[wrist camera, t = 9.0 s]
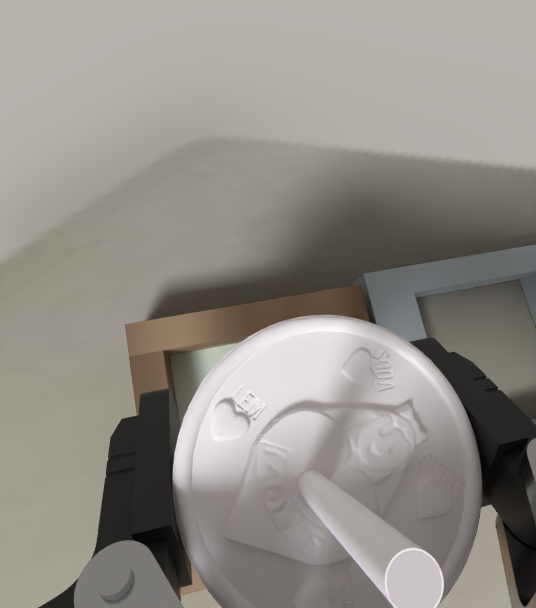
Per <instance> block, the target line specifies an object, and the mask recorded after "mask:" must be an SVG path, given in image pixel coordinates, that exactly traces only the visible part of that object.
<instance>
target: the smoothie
mask: <svg viewBox="0 0 536 608" xmlns="http://www.w3.org/2000/svg"><path fill="white" fill-rule="evenodd" d="M173 498H174V505H175V513H176V520H177V525H178V528H179V532H180V536H181V539H182V542H183V545H184V547H185V550H186V552H187V555H188V557H189V559H190V561H191V563H192V565H193V567H194V569H195V571H196V573H197V575H198V576H199V578H200V580H201V581H202V583H203V584H204V586H205V587H206V589H207V590H208V591H209V593H210V594H211V595H212V596H213V598H214V599H215V600H216V601H217V602H218V604H219V605H220V606H221V607H222V608H436V607H437V606H438V605H439V604H440V603H441V601H442V600H443V599H444V598H445V596H446V595H447V594H448V593H449V591H450V590H451V588H452V587H453V585H454V584H455V582H456V581H457V579H458V577H459V576H460V574H461V572H462V570H463V568H464V566H465V564H466V562H467V559H468V557H469V554H470V552H471V549H472V546H473V543H474V539H475V536H476V533H477V528H478V523H479V518H480V511H481V502H482V475H481V464H480V458H479V452H478V447H477V443H476V439H475V435H474V432H473V429H472V426H471V423H470V421H469V418H468V416H467V414H466V411H465V409H464V407H463V405H462V403H461V401H460V399H459V397H458V395H457V394H456V392H455V391H454V389H453V388H452V386H451V384H450V383H449V382H448V380H447V379H446V378H445V376H444V375H443V374H442V372H441V371H440V370H439V369H438V368H437V367H436V366H435V365H434V363H433V362H432V361H431V360H430V359H429V358H428V357H427V356H425V355H424V354H423V353H422V352H421V351H420V350H419V349H417V348H416V347H415V346H413V345H412V344H411V343H410V342H408V341H407V340H405V339H403V338H402V337H400V336H399V335H397V334H395V333H393V332H391V331H389V330H387V329H385V328H383V327H381V326H378V325H376V324H373V323H371V322H367V321H364V320H360V319H356V318H351V317H346V316H336V315H312V316H304V317H298V318H293V319H289V320H285V321H282V322H279V323H276V324H273V325H271V326H269V327H267V328H264V329H262V330H260V331H258V332H257V333H255V334H253V335H251V336H249V337H248V338H246V339H245V340H244V341H242V342H241V343H239V344H238V345H236V346H235V347H234V348H233V349H232V350H230V351H229V352H227V353H226V354H225V356H224V357H223V358H222V359H221V360H220V361H219V362H218V363H217V364H216V365H215V366H214V368H213V369H212V370H211V371H210V373H209V374H208V375H207V376H206V377H205V378H204V379H203V381H202V382H201V384H200V386H199V388H198V390H197V391H196V393H195V395H194V397H193V399H192V401H191V403H190V405H189V407H188V409H187V412H186V414H185V416H184V417H183V422H182V425H181V429H180V432H179V435H178V439H177V444H176V449H175V455H174V464H173Z"/></svg>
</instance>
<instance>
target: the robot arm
mask: <svg viewBox="0 0 536 608" xmlns="http://www.w3.org/2000/svg"><path fill="white" fill-rule="evenodd" d="M409 342H410V343H411V344H412V345H413V346H415V347H416V348H417V349H419V350H420V351H421V352H422V353H423V354H424V355H425V356H427V357H428V358H429V359H430V360H431V361H432V362H433V363H434V365H435V366H436V367H437V368H438V369H439V370H440V371H441V372H442V374H443V375H444V376H445V378H446V379H447V380H448V382H449V383H450V384H451V386H452V388H453V389H454V391H455V392H456V394H457V395H458V397H459V399H460V401H461V403H462V405H463V407H464V409H465V411H466V414H467V416H468V418H469V421H470V423H471V426H472V429H473V432H474V435H475V439H476V443H477V447H478V452H479V458H480V464H481V475H482V502H481V507H483V506H487V505H492V506H493V507H494V509H495V510H496V512H497V513H498V514H497V517H496V529H497V535H498V540H499V545H500V550H501V555H502V560H503V565H504V570H505V575H506V580H507V586H508V591H509V596H510V601H511V606H512V608H536V425H535V424H534V423H533V422H532V421H531V420H530V419H529V418H528V417H527V416H526V415H525V414H524V413H523V412H522V411H521V410H520V409H519V408H518V407H517V406H516V405H515V404H514V403H513V402H512V401H511V400H510V399H509V398H508V397H507V396H506V395H505V394H504V393H503V392H502V391H501V390H498V387H497V386H496V385H495V384H494V383H493V382H492V381H491V380H490V379H487V378H486V375H485V374H484V373H483V372H482V371H481V370H480V369H479V368H478V367H477V366H476V365H475V364H474V363H473V362H471V361H470V360H468V359H466V358H464V357H462V356H461V355H459V354H457V353H455V352H450V353H448V352H447V351H446V350H445V349H444V348H443V347H442V345H441V344H440V343H439V342H438V341H437V340H436V339H434V338H431V337H430V338H424V339H419V340H414V341H409ZM180 429H181V425H180V421H179V417H178V413H177V409H176V406H175V402H174V398H173V394H172V391H171V388H167V389H162V390H157V391H151V392H146V393H141V395H140V402H139V415H138V416H133V417H129V418H124V419H121V421H120V423H119V424H118V426H117V428H116V429H115V431H114V433H113V434H112V436H111V439H110V446H109V454H108V461H107V469H106V478H105V484H104V491H103V499H102V506H101V514H100V521H99V529H98V536H97V543H96V548H95V551H94V554H93V556H92V558H91V560H90V561H89V562H88V564H87V565H86V566H85V568H84V569H83V571H82V573H81V574H80V576H79V578H78V579H77V580H76V581H75V582H74V583H73V584H72V585H71V586H70V587H69V588H68V589H67V590H65V591H64V592H63V593H61V594H60V595H58V596H57V597H55V598H54V599H52V600H50V601H49V602H47V603H45V604H44V605H42V606H40V607H39V608H184V607H183V606H182V604H181V596H180V588H181V587H185V586H189V585H192V568H191V561H190V559H189V557H188V555H187V552H186V550H185V547H184V545H183V542H182V539H181V536H180V532H179V528H178V525H177V520H176V513H175V505H174V498H173V464H174V455H175V449H176V444H177V439H178V435H179V432H180Z"/></svg>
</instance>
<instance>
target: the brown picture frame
mask: <svg viewBox="0 0 536 608" xmlns="http://www.w3.org/2000/svg"><path fill="white" fill-rule="evenodd" d="M312 315H336V316H346V317H351V318H356V319H360V320H364V321H367V322H370V321H369V317H368V313H367V310H366V306H365V302H364V298H363V294H362V290H361V286H360V284H357V285H351V286H345V287H339V288H333V289H328V290H322V291H316V292H310V293H304V294H299V295H293V296H287V297H281V298H275V299H270V300H264V301H258V302H252V303H246V304H241V305H235V306H229V307H223V308H217V309H212V310H206V311H200V312H194V313H188V314H183V315H177V316H171V317H165V318H159V319H154V320H148V321H142V322H136V323H130V324H125V328H126V336H127V344H128V351H129V359H130V367H131V374H132V382H133V390H134V397H135V405H136V413H137V416H138V415H139V402H140V395H141V393H146V392H151V391H157V390H162V389H167V388H171V391H172V394H173V398H174V402H175V406H176V409H177V413H178V417H179V421H180V425H182V422H183V417H184V416H185V414H186V412H187V409H188V407H189V405H190V403H191V401H192V399H193V397H194V395H195V393H196V391H197V390H198V388H199V386H200V384H201V382H202V381H203V379H204V378H205V377H206V376H207V375H208V374H209V373H210V371H211V370H212V369H213V368H214V366H215V365H216V364H217V363H218V362H219V361H220V360H221V359H222V358H223V357H224V356H225V354H226V353H227V352H229V351H230V350H232V349H233V348H234V347H235V346H236V345H238V344H239V343H241V342H242V341H244V340H245V339H246V338H248V337H249V336H251V335H253V334H255V333H257V332H258V331H260V330H262V329H264V328H267V327H269V326H271V325H273V324H276V323H279V322H282V321H285V320H289V319H293V318H298V317H304V316H312ZM191 568H192V585H189V586H185V587H181V588H180V596H181V595H185V594H188V593H192V592H195V591H199V590H203V589H206V587H205V586H204V584H203V583H202V581H201V580H200V578H199V576H198V575H197V573H196V571H195V569H194V567H193V565H192V563H191Z"/></svg>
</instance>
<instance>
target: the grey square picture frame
mask: <svg viewBox="0 0 536 608" xmlns="http://www.w3.org/2000/svg"><path fill="white" fill-rule="evenodd" d="M517 279H520V282H521V285H522V288H523V291H524V294H525V297H526V300H527V303H528V306H529V309H530V312H531V315H532V318H533V321H534V324H535V327H536V244H535V245H529V246H523V247H517V248H511V249H505V250H499V251H494V252H488V253H482V254H476V255H470V256H464V257H458V258H452V259H446V260H440V261H434V262H428V263H422V264H416V265H410V266H404V267H398V268H393V269H387V270H381V271H375V272H369V273H363V274H362V275H361V276H360V277H359V278H358V279H357V280H355V281H354V282H353V283H352V285H357V284H360V286H361V290H362V294H363V298H364V302H365V306H366V310H367V313H368V317H369V321H370V322H371V323H373V324H376V325H378V326H381V327H383V328H385V329H387V330H389V331H391V332H393V333H395V334H397V335H399V336H400V337H402V338H403V339H405V340H407V341H408V342H409V341H414V340H419V339H424V338H427V336H426V332H425V329H424V325H423V322H422V318H421V314H420V311H419V307H418V304H417V300H416V298H418V297H424V296H429V295H435V294H440V293H446V292H451V291H457V290H462V289H468V288H473V287H479V286H484V285H490V284H495V283H501V282H506V281H512V280H517ZM530 420H531V421H532V422H533V423H534V424H535V425H536V418H535V419H530Z"/></svg>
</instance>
